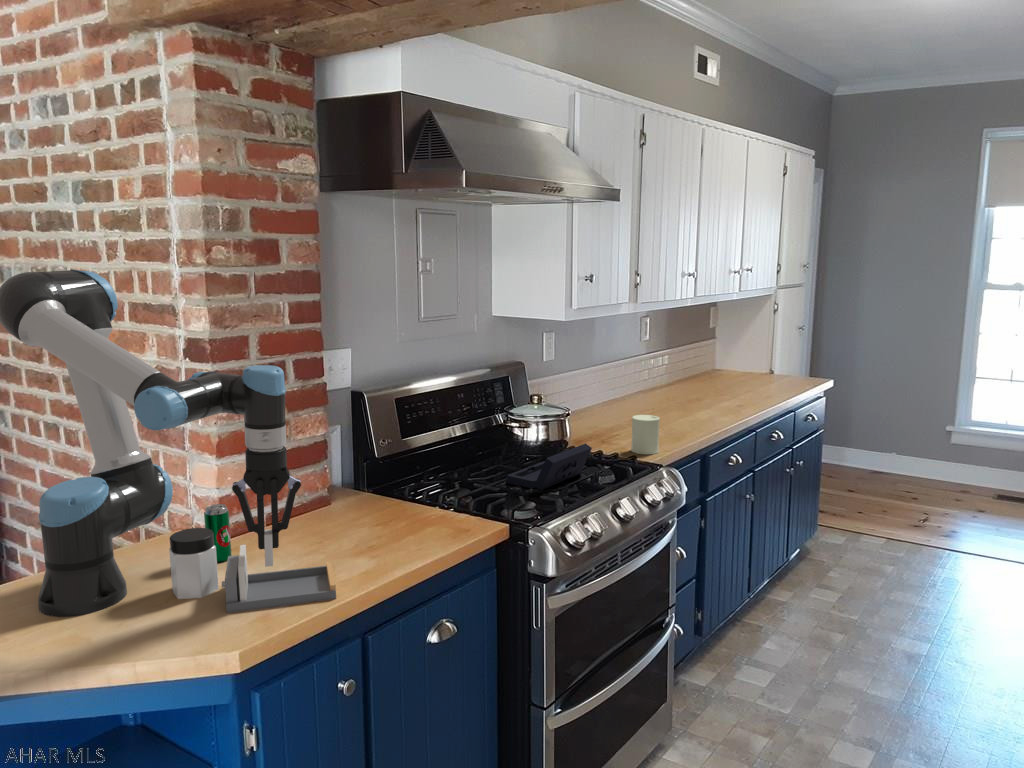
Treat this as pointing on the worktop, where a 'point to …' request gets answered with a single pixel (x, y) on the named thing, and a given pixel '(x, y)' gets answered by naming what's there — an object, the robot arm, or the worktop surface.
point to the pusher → (242, 574)
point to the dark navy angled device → (552, 469)
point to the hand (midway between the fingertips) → (269, 563)
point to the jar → (193, 563)
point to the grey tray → (278, 587)
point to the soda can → (219, 529)
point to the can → (645, 434)
